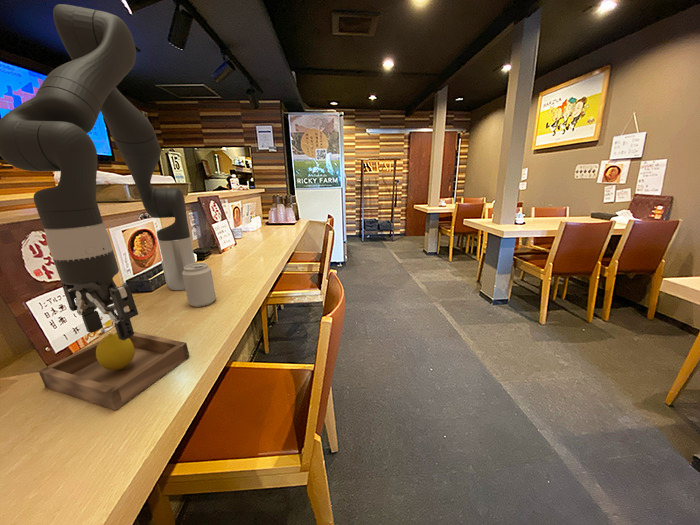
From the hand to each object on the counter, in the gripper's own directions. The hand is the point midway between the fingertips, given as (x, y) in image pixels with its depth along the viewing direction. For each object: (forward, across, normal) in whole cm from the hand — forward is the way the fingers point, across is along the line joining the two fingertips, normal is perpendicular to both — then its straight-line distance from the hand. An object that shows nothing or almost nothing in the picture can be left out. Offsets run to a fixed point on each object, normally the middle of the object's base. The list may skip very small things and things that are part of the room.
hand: (111, 333), depth 51 cm
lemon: (+8, 0, 0) cm, 8 cm away
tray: (+8, 0, 0) cm, 8 cm away
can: (+9, +9, -29) cm, 31 cm away
